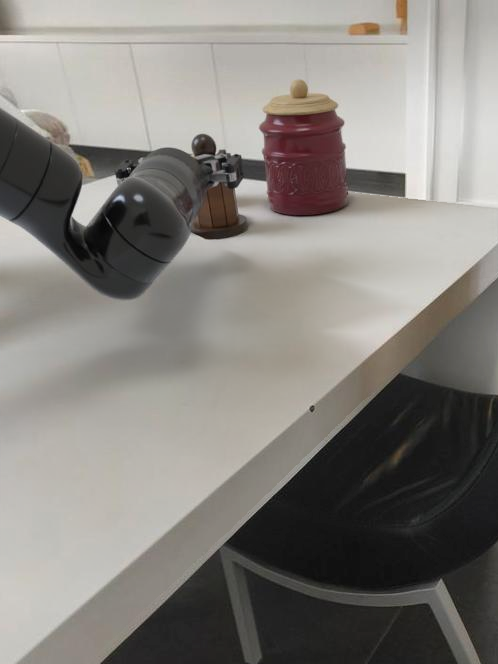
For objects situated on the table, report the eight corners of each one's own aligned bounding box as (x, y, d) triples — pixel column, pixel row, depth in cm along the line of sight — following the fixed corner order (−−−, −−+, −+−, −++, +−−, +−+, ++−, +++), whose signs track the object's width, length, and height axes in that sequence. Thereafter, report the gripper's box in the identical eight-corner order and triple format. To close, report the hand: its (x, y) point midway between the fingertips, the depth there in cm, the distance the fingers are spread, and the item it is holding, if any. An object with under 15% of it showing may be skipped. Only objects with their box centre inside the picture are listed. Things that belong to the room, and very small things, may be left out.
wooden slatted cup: (207, 230, 97) (196, 166, 92) (187, 221, 102) (175, 159, 97) (246, 221, 100) (238, 158, 95) (225, 212, 105) (215, 152, 100)
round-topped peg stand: (203, 243, 97) (186, 143, 89) (176, 229, 103) (157, 134, 95) (259, 229, 101) (246, 132, 93) (229, 217, 107) (215, 125, 99)
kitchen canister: (252, 208, 110) (235, 82, 100) (310, 190, 118) (300, 72, 107) (306, 222, 103) (294, 87, 92) (365, 202, 110) (360, 76, 100)
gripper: (226, 152, 71) (242, 124, 84) (90, 159, 71) (126, 130, 84) (237, 225, 76) (250, 188, 89) (109, 232, 76) (141, 194, 89)
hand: (190, 160), depth 86 cm, fingers open, 8 cm apart
